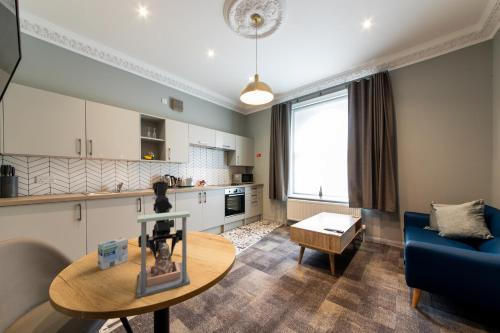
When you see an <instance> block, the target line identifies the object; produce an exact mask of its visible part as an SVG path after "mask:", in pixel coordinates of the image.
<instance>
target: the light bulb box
mask: <svg viewBox="0 0 500 333" xmlns="http://www.w3.org/2000/svg"><path fill="white" fill-rule="evenodd" d="M128 251H129V239H127V238H124V237H118V238H114V239H111V240H107V241H103V242H100V243H97V267H98V268H99V267H100V268H99V269H101V270H103V271H104V270H107V269H110V268H112V267H116V266H117V265H120V264H124V263H126V262H128V260H129V259H128V258H129V257H128V254H129V252H128Z"/></svg>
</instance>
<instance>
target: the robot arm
mask: <svg viewBox="0 0 500 333" xmlns="http://www.w3.org/2000/svg"><path fill="white" fill-rule="evenodd" d="M167 190H169V183H168V182H166V181H164V180H163V181H160V180H159V181H156V182H152V191H153V194H154V195H155V199H154V203H153V206H152V207H153V212H154V214H159V213H169V212H170V210H171V209H173V205H172V204H171V202H170V201H169V198H168V197H167ZM174 227H175V220H174V219H166V220H158V221H155V224H154V225H153V229H152V233H151V234H152V235H151V236H150V233H148V234H147V233H146V249H149V250H150V252H151V253H152V255H153V257H154V259H156V257H157V253H158V248H159V242H161V243H167V240H170V239H171V243H170V244H171V246H170V247H171V248H170V253H171V257H173V254H174V250H175V246H176V244H179V242H181V241H182V229H176V231H175V233H171V229H172V228H174ZM137 242H138V244H137V245H138V248H141V234H140V235H139V236H138V238H137Z"/></svg>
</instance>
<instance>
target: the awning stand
mask: <svg viewBox="0 0 500 333" xmlns="http://www.w3.org/2000/svg"><path fill="white" fill-rule="evenodd" d="M190 217H191V213H190V212H189V211H188V210H182V211H171V212H169V213H159V214H156V213H151V214H143V215H142V214H140V215H137V220H136V221H137V223H139V224H140V226H141V227H140V235H141V247H140V271H139V274H138V275H139V276H138V283H137V291H136V299H139V298H143V297H146V296H147V297H148V296H149V295H153V294H158V293H161V292H165V291H168V290H171V289H175V288H178V287H182V286H186V285H189V284H191V280H190V277H189V274H188V271H187V265H188V264H187V260H188V258H187V255H188V254H187V251H188V250H187V218H190ZM166 219H169V220H174V219H181V224H182V225H181V227H182V229H181V230H182V242H181V243H182V244H181V245H182V246H181V252H182V253H181V262H179V261H178V260H177V259H175V260H172V266H173V271H172V272H171V273H167V274H163V275H159V276H155V275H154V265H155V264H152V265H151V264H150V265H148V266H147V247H146V235H147V222H148V223H149V222H156V221H158V220H166Z"/></svg>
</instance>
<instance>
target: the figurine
mask: <svg viewBox="0 0 500 333" xmlns="http://www.w3.org/2000/svg"><path fill="white" fill-rule="evenodd" d="M172 257H173V256H171V250H170V245H169V244H168V243H167V242H166V243H161V242H159V248H158V252H157V254H156V259H155V258H154V259H155V260H154V264H153V265H154V275H155V276H159V275H163V274H167V273H171V272H172V271H173V266H172V261H173V260H172Z"/></svg>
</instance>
